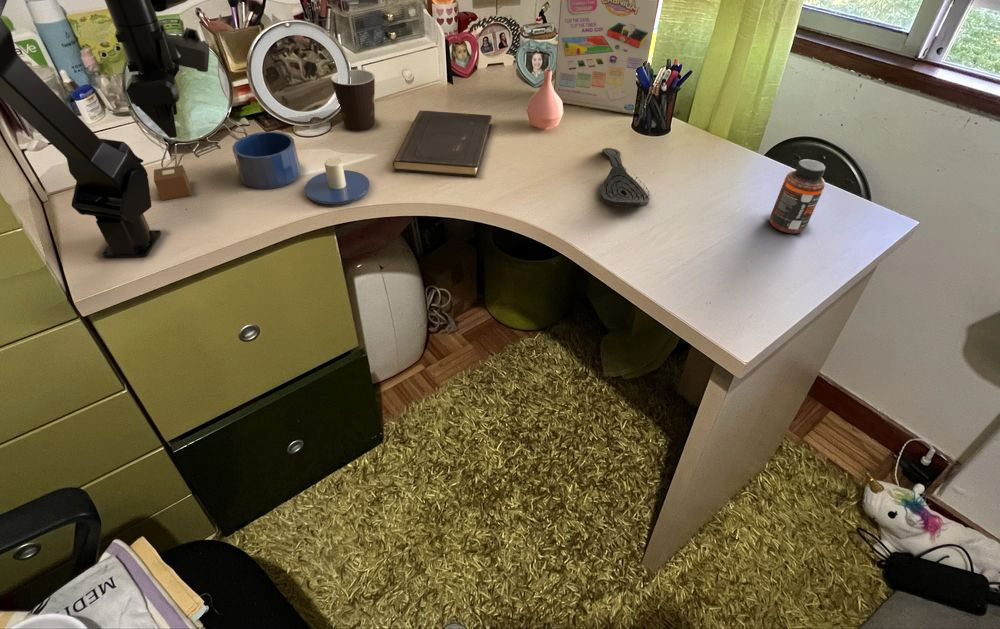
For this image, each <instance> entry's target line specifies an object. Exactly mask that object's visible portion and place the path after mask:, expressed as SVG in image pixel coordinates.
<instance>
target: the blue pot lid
mask: <svg viewBox="0 0 1000 629" xmlns="http://www.w3.org/2000/svg"><path fill="white" fill-rule="evenodd" d="M324 168H325V172H321V173H319V174H317V175H314V176H312V177H311V178H310V179H309V180H308V181H307V182H306V184H304V191H305V192H304V193H305V195H306V196H307V197H308V198H309V199H310V200H311V201H313V202H316V203H319V204H324V205H342V204H348V203H352V202H354V201H357V200H359V199H361V198H363V197H364V196H365V195H366V194H367V193H368V192H369V190H370V189H371V182H370V180H369V177H367V176H366V175H364V174H363V173H361V172H359V171H354V170H348V169H345V168H344V164H343V160H342V159H341V158H339V157H331V158H328V159H326V160H325V161H324Z"/></svg>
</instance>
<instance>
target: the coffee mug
mask: <svg viewBox="0 0 1000 629" xmlns="http://www.w3.org/2000/svg"><path fill="white" fill-rule="evenodd" d="M348 70H349V71H350V77H351V84H341V83H338V78H339V77H338V76H339V73H338V72H339V71H338V72H337V71H336V72H335V73H333V74H332V75H331V76H330V79H331V83H332V87H333V91H334V94H335V97H337V98H336V101H337V100H338V101H337V104H338V103H339V104H340V106H341V109H340V108H339V112H340V115H341V118H342V122H343V126H344V128H345V129H346V130H348V131H351V132H362V131H363V132H364V131H368V130H371V129H373V127H375V126H376V84H375V83H376V81H375V80H376V79H375V78H376V76H375V74H374V73H373V72H371V71H370V70H365V69H357V68H356V69H355V68H354V69H352V68H351V69H348Z"/></svg>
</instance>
